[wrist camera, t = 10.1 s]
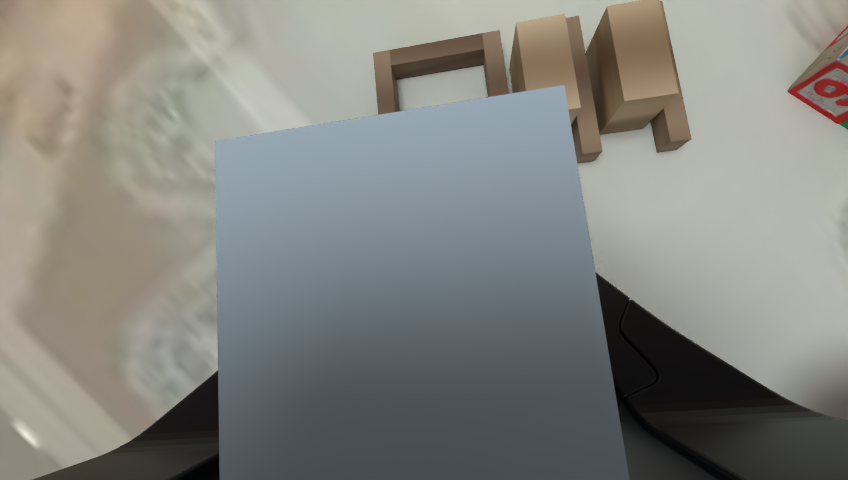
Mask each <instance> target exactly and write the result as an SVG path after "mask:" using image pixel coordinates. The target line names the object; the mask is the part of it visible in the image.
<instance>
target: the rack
mask: <svg viewBox="0 0 848 480" xmlns="http://www.w3.org/2000/svg"><path fill="white" fill-rule="evenodd" d="M660 5H661V10H662V15H663V20H664V25H665V29H666V34H667V39H668V44H669V48H670V53H671V58H672V63H673V68H674V72H675V77H676V82H677V87H678V91H679V93H678V94H677V95H676V96H675V97H674V98H673V99H672V100H671V101H670V102H669V103H668V104H667V105H666V106H665V107H664V108H663V109H662V110H661V111H660V112H659V113H658V114H657V115H656V116H655V117H654V118H653V119H652V120H651V124H652V129H653V134H654V139H655V144H656V149H657V152H663V151H670V150H677V149H678V148H679V147H681V146H682V145H684V144H685V143H686V142H688V141H689V140H691V135H690V130H689V125H688V120H687V116H686V111H685V106H684V102H683V97H682V92H681V87H680V83H679V78H678V73H677V69H676V64H675V59H674V55H673V50H672V45H671V40H670V36H669V31H668V26H667V22H666V17H665V12H664V7H663V3H662V1H660ZM566 23H567V28H568V34H569V40H570V46H571V52H572V58H573V64H574V70H575V76H576V82H577V88H578V93H579V99H580V105H581V108H580V110H579V112H578V114H577V115H576V117H575V119H574V121H573V122H572V124H571V128H572V134H573V140H574V147H575V153H576V159H577V163H581V162H589V161H594V160H595V159H596V158H597V157H598V156H599V154H600V153H601V152H602V146H601V140H600V134H599V129H598V123H597V117H596V112H595V106H594V100H593V94H592V89H591V83H590V77H589V72H588V66H587V60H586V54H585V49H584V43H583V37H582V32H581V26H580V20H579V16H575V17H570V18H566ZM373 56H374V68H375V80H376V91H377V103H378V115H380V114H387V113H393V112H399V104H398V93H397V83H396V79H402V78H408V77H414V76H419V75H425V74H431V73H437V72H443V71H449V70H455V69H460V68H466V67H472V66H478V65H484V71H485V78H486V86H487V94H488V97H492V96H499V95H505V94H508V87H507V80H506V73H505V66H504V58H503V51H502V44H501V37H500V30H498V31H493V32H487V33H481V34H476V35H470V36H465V37H459V38H454V39H448V40H443V41H437V42H432V43H426V44H421V45H415V46H410V47H404V48H399V49H393V50H388V51H382V52H377V53H373Z"/></svg>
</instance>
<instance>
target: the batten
mask: <svg viewBox="0 0 848 480" xmlns="http://www.w3.org/2000/svg"><path fill="white" fill-rule="evenodd" d="M215 183H216V255H217V327H218V400H219V472H220V480H630V479H629V473H628V467H627V460H626V454H625V448H624V442H623V436H622V430H621V424H620V418H619V412H618V406H617V400H616V394H615V388H614V382H613V376H612V370H611V364H610V358H609V352H608V346H607V340H606V334H605V328H604V322H603V316H602V310H601V304H600V297H599V291H598V285H597V279H596V273H595V267H594V261H593V255H592V249H591V243H590V237H589V231H588V225H587V219H586V213H585V207H584V201H583V195H582V189H581V183H580V177H579V171H578V165H577V159H576V153H575V147H574V140H573V134H572V128H571V122H570V116H569V110H568V104H567V98H566V92H565V86H564V85H561V86H555V87H548V88H542V89H536V90H530V91H524V92H517V93H511V94H505V95H499V96H492V97H486V98H480V99H474V100H468V101H461V102H455V103H449V104H443V105H436V106H430V107H424V108H418V109H412V110H405V111H399V112H393V113H387V114H380V115H374V116H368V117H362V118H356V119H349V120H343V121H337V122H331V123H324V124H318V125H312V126H306V127H300V128H293V129H287V130H281V131H275V132H268V133H262V134H256V135H250V136H244V137H237V138H231V139H225V140H219V141H215Z"/></svg>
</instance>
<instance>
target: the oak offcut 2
mask: <svg viewBox="0 0 848 480" xmlns="http://www.w3.org/2000/svg"><path fill="white" fill-rule="evenodd" d="M585 54H586V60H587V66H588V72H589V77H590V83H591V89H592V94H593V100H594V106H595V112H596V117H597V123H598V129H599V134H600V135H602V134H609V133H616V132H623V131H630V130H637V129H643V128H644V127H645V126H646V125H647V124H648V123H649V122H650V121H651V120H652V119H653V118H654V117H655V116H656V115H657V114H658V113H659V112H660V111H661V110H662V109H663V108H664V107H665V106H666V105H667V104H668V103H669V102H670V101H671V100H672V99H673V98H674V97H675V96H676V95H677V94H678V93H679V91H678V87H677V82H676V77H675V72H674V68H673V63H672V58H671V53H670V48H669V44H668V39H667V34H666V29H665V25H664V20H663V15H662V10H661V5H660V1H659V0H641V1H635V2H630V3H624V4H619V5H613V6H608V7H607V8H606V10H605V12H604V14H603V16H602V18H601V21H600V23H599V25H598V27H597V29H596V31H595V34H594V36H593V38H592V40H591V42H590V45H589V47H588V49H587V51H586V53H585Z"/></svg>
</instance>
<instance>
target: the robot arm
mask: <svg viewBox="0 0 848 480" xmlns="http://www.w3.org/2000/svg"><path fill="white" fill-rule="evenodd" d="M595 273H596V272H595ZM596 279H597V285H598V291H599V297H600V304H601V310H602V316H603V322H604V328H605V334H606V340H607V346H608V352H609V358H610V364H611V370H612V376H613V382H614V388H615V394H616V400H617V406H618V412H619V418H620V424H621V430H622V436H623V442H624V448H625V454H626V460H627V467H628V473H629V479H630V480H848V421H845V420H841V419H837V418H833V417H830V416H827V415H824V414H821V413H818V412H815V411H812V410H810V409H807V408H805V407H803V406H800V405H798V404H796V403H794V402H792V401H790V400H788V399H786V398H784V397H782V396H780V395H779V394H777V393H775V392H773V391H772V390H770V389H768V388H767V387H765V386H763V385H762V384H760V383H759V382H757V381H755V380H754V379H752V378H750V377H749V376H747V375H746V374H744V373H742V372H741V371H739V370H738V369H736V368H734V367H733V366H731V365H729V364H728V363H726V362H725V361H723V360H721V359H720V358H718V357H717V356H715V355H713V354H712V353H710V352H708V351H707V350H705V349H704V348H702V347H700V346H699V345H697V344H696V343H694V342H692V341H691V340H689V339H688V338H686V337H685V336H683V335H682V334H680V333H679V332H677V331H675V330H674V329H672V328H671V327H669V326H668V325H666V324H665V323H664V322H662V321H661V320H659V319H658V318H657V317H655V316H654V315H652V314H651V313H650V312H648V311H647V310H645V309H644V308H643V307H641V306H640V305H639V304H637V303H636V302H635V301H633V300H629V297H628V296H626V295H625V294H624V293H622V292H621V291H620V290H618V289H617V288H616V287H614V286H613V285H612V284H610V283H609V282H608V281H606V280H605V279H604V278H602V277H601V276H600V275H598V274H597V273H596ZM33 480H220V472H219V400H218V371H217V372H215V373H214V374H213V375H212V376H211V377H209V378H208V379H207V380H206V381H205V382H204V383H202V384H201V385H200V386H199V387H198V388H196V389H195V390H194V391H193V392H191V393H190V394H189V395H188V396H187V397H185V398H184V399H183V400H182V401H181V402H179V403H178V404H177V405H176V406H175V407H173V408H172V409H171V410H170V411H168V412H167V413H166V414H165V415H164V416H162V417H161V418H160V419H159V420H158V421H156V422H155V423H154V424H153V425H152V426H150V427H149V428H148V429H146V430H145V431H144V432H143V433H141V434H140V435H139V436H137V437H135V438H134V439H132V440H131V441H129V442H128V443H126V444H124V445H122V446H120V447H119V448H117V449H115V450H113V451H110V452H108V453H106V454H104V455H101V456H99V457H96V458H93V459H90V460H87V461H85V462H82V463H79V464H76V465H73V466H70V467H67V468H64V469H62V470H59V471H56V472H53V473H50V474H47V475H44V476H42V477H39V478H36V479H33Z"/></svg>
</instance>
